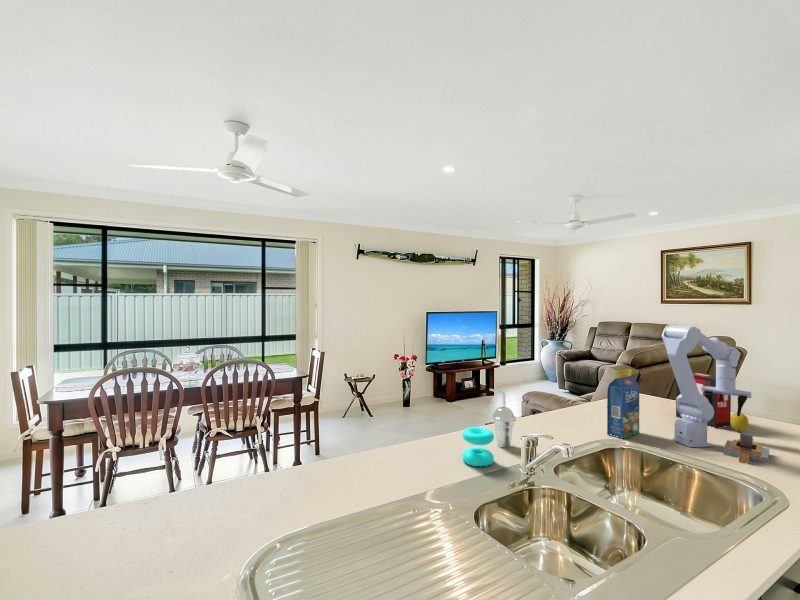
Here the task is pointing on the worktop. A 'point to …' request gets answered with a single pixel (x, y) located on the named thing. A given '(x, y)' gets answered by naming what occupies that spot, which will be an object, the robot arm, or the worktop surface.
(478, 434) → the donuts
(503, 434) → the cup with straw
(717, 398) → the cleaning product box
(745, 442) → the dark grey rectangular block
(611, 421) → the blue food package
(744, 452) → the grey and brown socket
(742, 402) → the robot arm
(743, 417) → the lemon
